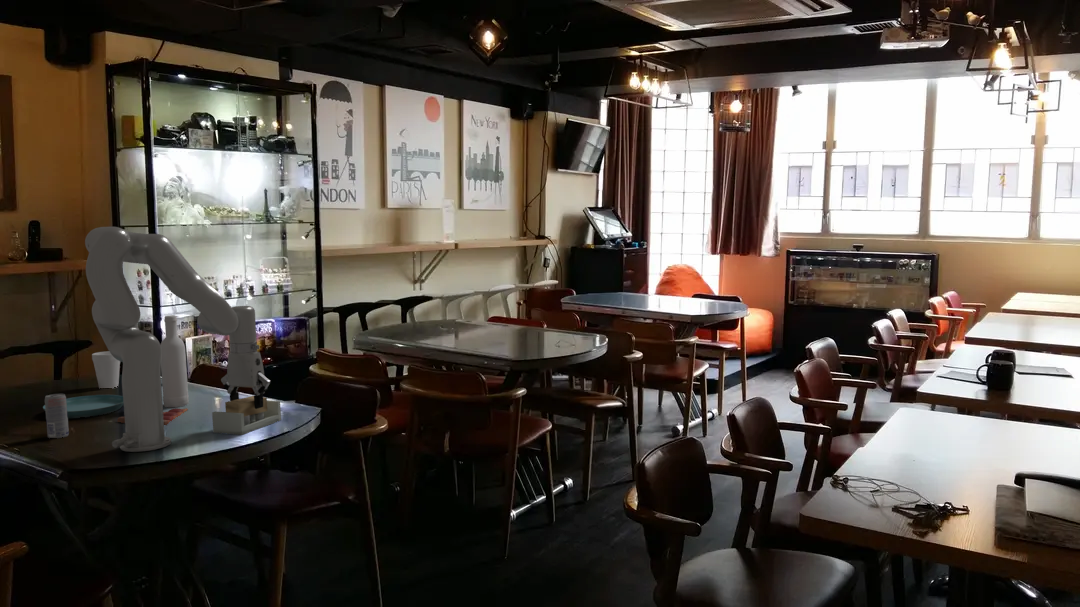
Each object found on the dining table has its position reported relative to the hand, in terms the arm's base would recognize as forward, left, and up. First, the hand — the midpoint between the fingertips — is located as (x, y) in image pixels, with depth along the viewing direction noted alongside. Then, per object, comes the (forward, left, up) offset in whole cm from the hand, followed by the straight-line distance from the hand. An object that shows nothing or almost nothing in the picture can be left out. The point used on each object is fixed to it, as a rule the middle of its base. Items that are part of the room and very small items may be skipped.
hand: (246, 406), depth 251 cm
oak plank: (0, 0, -2) cm, 2 cm away
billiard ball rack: (+4, +35, -7) cm, 36 cm away
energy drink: (-24, +47, -6) cm, 53 cm away
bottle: (+19, +44, -6) cm, 48 cm away
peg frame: (0, 0, -6) cm, 6 cm away
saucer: (+4, +67, -6) cm, 67 cm away
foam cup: (+38, +93, -6) cm, 101 cm away
